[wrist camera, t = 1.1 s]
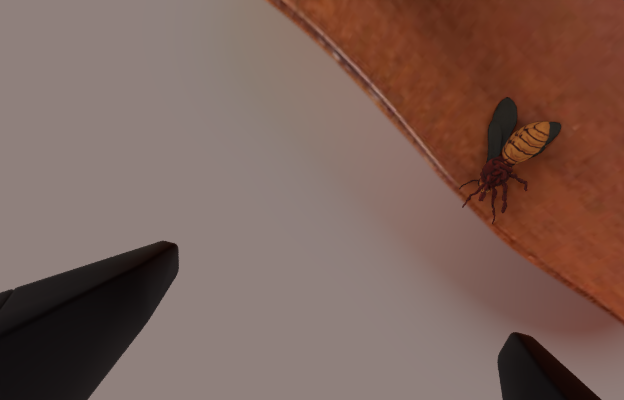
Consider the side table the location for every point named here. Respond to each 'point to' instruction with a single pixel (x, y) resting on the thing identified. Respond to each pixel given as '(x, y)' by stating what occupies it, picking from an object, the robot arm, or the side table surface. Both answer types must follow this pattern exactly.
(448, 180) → the side table surface
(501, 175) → the insect
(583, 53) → the side table surface
